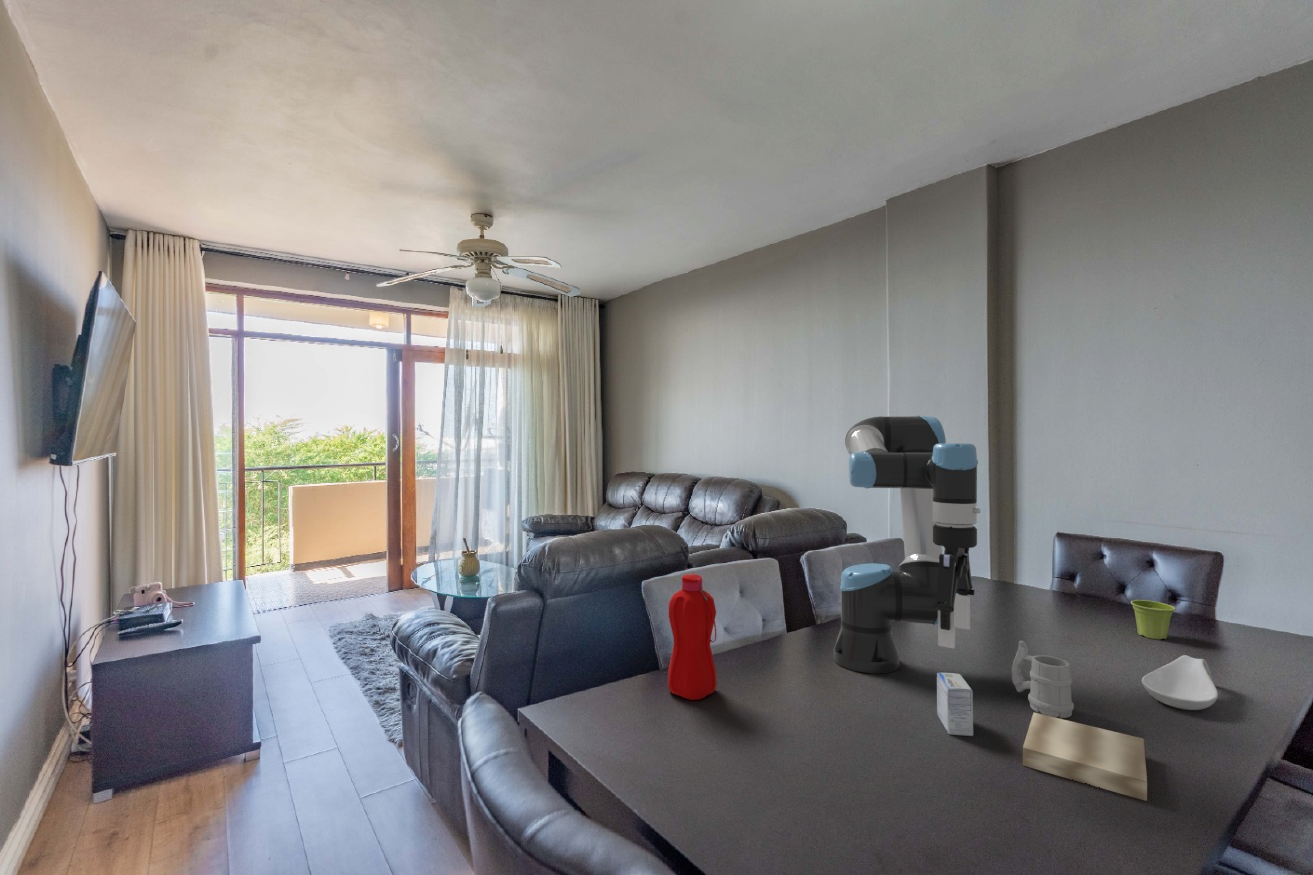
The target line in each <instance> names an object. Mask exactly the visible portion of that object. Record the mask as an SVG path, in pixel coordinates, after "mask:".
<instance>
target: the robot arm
mask: <svg viewBox="0 0 1313 875" xmlns="http://www.w3.org/2000/svg"><path fill="white" fill-rule="evenodd" d="M946 440H947V439H946V435H945V429H944V428H943V424H942V423H941V421H940V420H939V419H938V418H937V417H934V416H926V415H925V416H924V415H916V416H882V415H881V416H873V417H869V418H865V419H863V420H861V421H859V422H857V423H856V424H854V425H852V427H851V428H849V430H848V431H847V432H846V435H845V438H844V441H845V442H844V444H845V448H846V451H847V452H848V454H849V460H848V478H849V484H850V486H852V487H854V488H863V489H864V488H865V489H900V490H899V491H900V502H901V503H900V505H901V517H902V518H901V520H902V532H903V533H902V536H903V548H904V559H903V561H902V562H901V563H900V564H899V565H898V571H893V569H892V566H891V565H889V564H885V563H879V562H878V563H876V562H874V563H871V562H870V563H869V562H868V563H860V564H855V565H851V566H848V567H846V568H845V569H844V570H843V571H842V572H841V578H840V580H841V581H840V582H841V583H840V586H839V588H840V589H839V590H840V593H841V594H840V598H841V599H840V600H841V601H840V629H839V632H838V635H837V638H836V642H835V644H834V647H833V660H834V662H835V663H836V664H838V665H839V666H841V667H843V668H846V669H848V670H851V671H855V672H859V673H866V674H887V673H893V672H895V671H897V670H899V668H900V654H899V651H898V648H897V644H896V642H895V639H894V636H893V633H892V628H893V627H892V624H893V622H899V623H910V624H911V623H914V624H926V625H928V624H929V625H932V626H936V625H937V646H939V647H943V648H947V649H948V648H950V649H955V648H956V628H957V629H958V628H959V629H962V630H971V596H974V595H975V589H973V584H972V583H973V582H972V574H971V565H970V554H969V553H970V552H969V551H970V549H972V548H975V547H977V545H978V528H976V526H975V525H976V524H977V517H978V516H977V514H980V513H981V509H980V508H979V507H977V506H978V504H977V501H978V500H977V499H978V498H977V497H978V495H977V494H978V464H979V461H978V457H977V456H978V455H977V447H976V446H975V445H974V444H973V443H948V442H947V441H946ZM946 442H947V443H946ZM943 549H944V550H943ZM943 551H944V553H943Z"/></svg>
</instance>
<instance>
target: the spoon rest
mask: <svg viewBox="0 0 1313 875" xmlns="http://www.w3.org/2000/svg"><path fill="white" fill-rule="evenodd" d="M1141 683H1142V686H1143V688H1144V689H1145V690H1146V692H1148V694H1149V695H1150V696H1151V697H1152V698H1154V699H1155V700H1157V701H1159V702H1160V703H1162V704H1165V705H1167V706H1168V707H1173V708H1175V709H1180V710H1185V711H1199V710H1203V709H1204V710H1205V709H1207V708H1209V707H1211V706H1212V705H1213V704H1214V703H1215V702H1216V701H1217V700H1218V696H1219V694H1218V690H1217V688H1216V686H1215V683H1214V682H1213V677H1212V673H1211V669H1210V667H1209V664H1208V663H1207V661H1206V660H1205V659H1203V658H1195V657H1192V656H1189V655H1186V654H1182V655H1180V656H1179V657H1178V658H1176V659H1174V660H1173V661H1171V662H1169V663H1167V664H1165V665H1163V666H1160V667H1159V668H1156V669H1155V670H1152V671H1151V672H1149V673H1147V674H1145V675H1144V676H1143V677H1142V678H1141Z"/></svg>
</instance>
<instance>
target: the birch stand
mask: <svg viewBox="0 0 1313 875" xmlns="http://www.w3.org/2000/svg"><path fill="white" fill-rule="evenodd" d="M1032 713H1033V714H1032V716H1031V719H1030V722H1029V725H1028V730H1027V733H1026V736H1025V740H1024V742H1023V745H1022V766H1023V767H1027V768H1030V769H1033V770H1037V771H1041V772H1045V773H1048V774H1052V775H1053V776H1054V775H1055V776H1058V777H1062V778H1066V779H1067V780H1072V779H1073V780H1072V781H1076V782H1079V783H1082V784H1085V783H1087V784H1086V785H1089V784H1090V785H1089V786H1093V787H1095V788H1099V787H1100V789H1103V790H1107V791H1110V792H1114V793H1117V794H1121V795H1124V796H1127V797H1131V798H1134V799H1137V800H1141V801H1144V802H1145V801H1146V802H1148V776H1147V766H1146V765H1147V764H1146V754H1145V753H1146V751H1145V739H1144V738H1142V737H1139V736H1138V737H1137V736H1133V735H1129V734H1125V733H1122V732H1116V731H1113V730H1108V729H1104V728H1099V727H1096V726H1092V725H1087V724H1083V723H1079V722H1076V721H1071V720H1067V719H1064V718H1060V717H1051V716H1047V715H1044V714H1042V713H1039V712H1032Z"/></svg>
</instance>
